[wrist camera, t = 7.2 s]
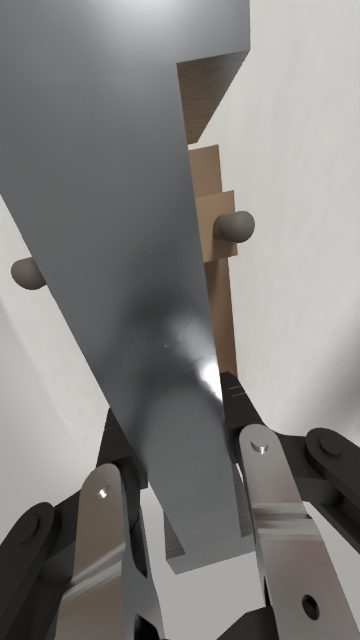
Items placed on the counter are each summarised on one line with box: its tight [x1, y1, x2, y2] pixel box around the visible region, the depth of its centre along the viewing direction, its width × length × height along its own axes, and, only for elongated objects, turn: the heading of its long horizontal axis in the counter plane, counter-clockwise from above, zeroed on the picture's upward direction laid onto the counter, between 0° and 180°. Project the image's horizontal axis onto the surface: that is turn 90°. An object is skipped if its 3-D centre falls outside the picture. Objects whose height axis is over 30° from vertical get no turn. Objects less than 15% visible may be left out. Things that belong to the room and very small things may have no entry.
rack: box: [11, 145, 255, 379], centre depth 14 cm, size 11×22×6 cm, turn 11°
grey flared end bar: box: [0, 0, 256, 575], centre depth 9 cm, size 6×26×4 cm, turn 11°
